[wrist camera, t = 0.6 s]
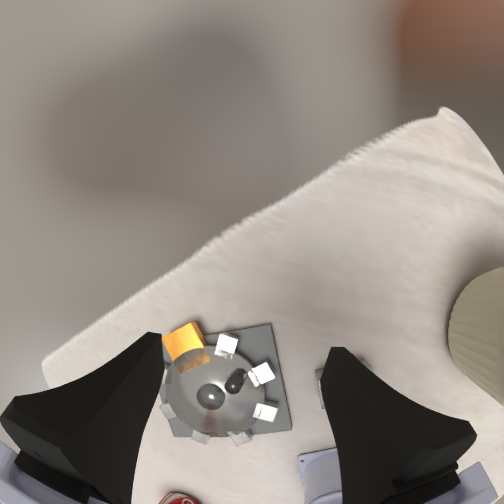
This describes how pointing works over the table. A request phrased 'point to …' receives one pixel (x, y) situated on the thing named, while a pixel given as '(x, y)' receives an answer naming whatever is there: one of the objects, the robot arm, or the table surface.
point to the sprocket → (214, 386)
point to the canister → (480, 332)
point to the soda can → (177, 499)
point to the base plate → (256, 350)
